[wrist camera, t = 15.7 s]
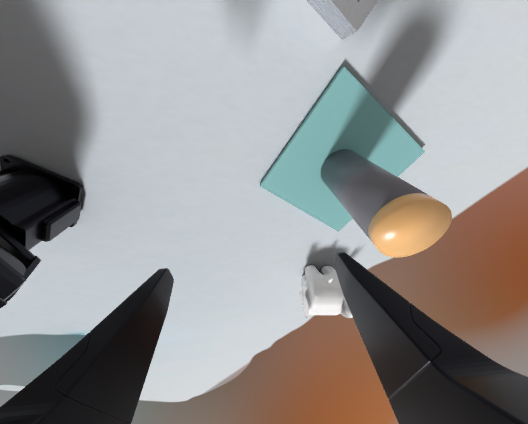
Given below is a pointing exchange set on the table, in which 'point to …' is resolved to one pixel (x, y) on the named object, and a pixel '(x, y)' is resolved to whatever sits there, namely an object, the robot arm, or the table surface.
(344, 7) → the collar
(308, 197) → the teal mat
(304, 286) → the elephant figurine
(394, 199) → the grey orange domed cylinder
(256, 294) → the table surface
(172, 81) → the table surface
